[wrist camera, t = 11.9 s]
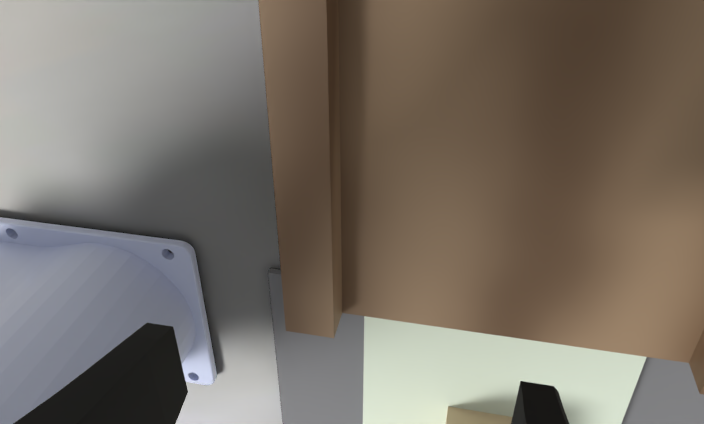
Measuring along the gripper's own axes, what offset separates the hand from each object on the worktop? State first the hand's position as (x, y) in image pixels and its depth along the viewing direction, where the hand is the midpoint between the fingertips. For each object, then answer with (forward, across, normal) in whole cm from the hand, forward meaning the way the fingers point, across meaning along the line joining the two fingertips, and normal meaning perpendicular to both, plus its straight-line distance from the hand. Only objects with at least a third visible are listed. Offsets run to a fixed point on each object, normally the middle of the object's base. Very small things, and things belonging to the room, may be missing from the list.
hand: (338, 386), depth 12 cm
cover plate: (+9, -4, +12) cm, 16 cm away
